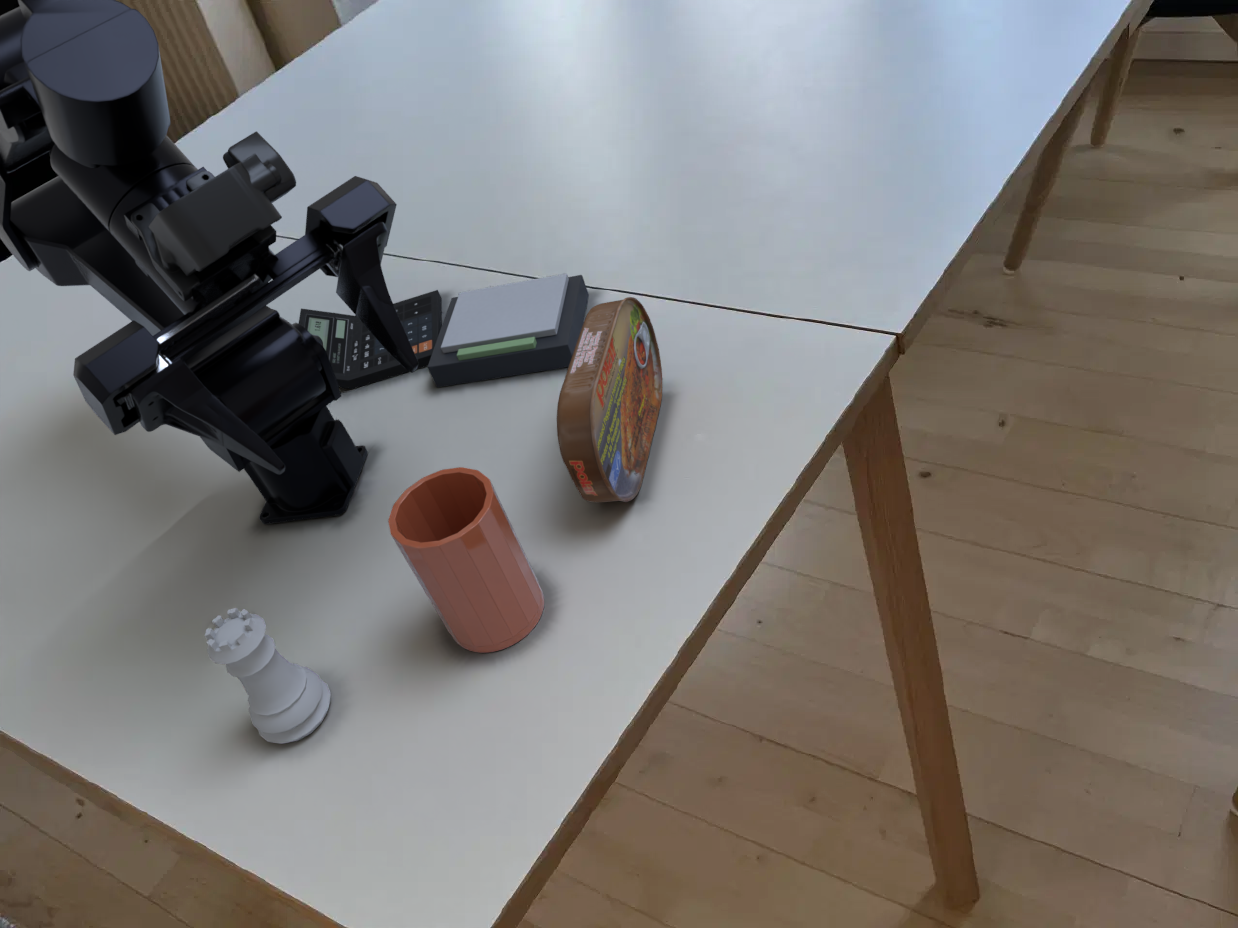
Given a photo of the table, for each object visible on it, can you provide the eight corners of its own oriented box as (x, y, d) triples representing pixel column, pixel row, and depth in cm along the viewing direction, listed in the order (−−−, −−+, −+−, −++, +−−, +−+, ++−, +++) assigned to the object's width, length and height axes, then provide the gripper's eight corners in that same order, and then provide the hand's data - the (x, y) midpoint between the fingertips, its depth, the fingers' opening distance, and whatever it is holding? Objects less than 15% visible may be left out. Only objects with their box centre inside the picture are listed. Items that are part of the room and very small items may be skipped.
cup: (440, 656, 61) (376, 552, 55) (460, 578, 65) (403, 474, 59) (536, 648, 59) (481, 540, 54) (550, 569, 64) (501, 461, 58)
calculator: (442, 361, 83) (428, 330, 81) (302, 404, 84) (284, 375, 82) (441, 298, 90) (428, 268, 88) (312, 338, 91) (296, 309, 89)
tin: (630, 530, 64) (592, 427, 59) (581, 531, 65) (539, 430, 60) (670, 370, 75) (641, 270, 69) (628, 374, 76) (595, 275, 70)
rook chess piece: (315, 667, 63) (249, 579, 58) (347, 710, 60) (281, 622, 55) (249, 716, 61) (175, 631, 56) (278, 763, 58) (204, 677, 53)
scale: (436, 387, 81) (423, 361, 79) (460, 317, 87) (448, 291, 85) (575, 366, 78) (565, 338, 76) (589, 295, 84) (579, 267, 83)
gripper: (-44, 222, 46) (198, 490, 46) (299, 29, 54) (507, 259, 54) (10, 322, 56) (209, 541, 57) (293, 147, 64) (468, 341, 64)
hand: (351, 418), depth 58 cm, fingers open, 9 cm apart
